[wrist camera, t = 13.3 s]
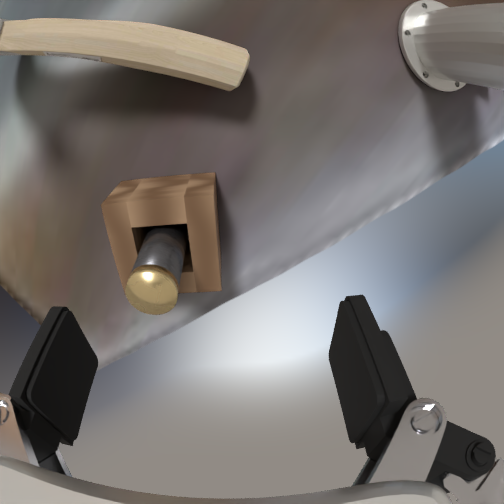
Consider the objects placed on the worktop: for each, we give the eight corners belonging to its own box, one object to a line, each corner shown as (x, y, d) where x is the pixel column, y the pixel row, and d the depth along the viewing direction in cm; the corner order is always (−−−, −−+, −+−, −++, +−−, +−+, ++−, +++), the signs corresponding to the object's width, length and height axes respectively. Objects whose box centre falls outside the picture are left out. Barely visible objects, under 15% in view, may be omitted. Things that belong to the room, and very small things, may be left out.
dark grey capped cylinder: (188, 201, 35) (172, 271, 23) (192, 234, 37) (181, 313, 25) (152, 204, 34) (119, 274, 22) (157, 237, 37) (132, 315, 25)
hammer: (277, 47, 19) (-66, 16, 6) (256, 101, 21) (-79, 68, 8) (228, 52, 31) (4, 23, 18) (215, 86, 33) (-6, 57, 20)
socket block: (215, 172, 33) (213, 194, 27) (221, 256, 39) (221, 290, 33) (121, 181, 32) (100, 204, 26) (138, 261, 38) (125, 295, 32)
